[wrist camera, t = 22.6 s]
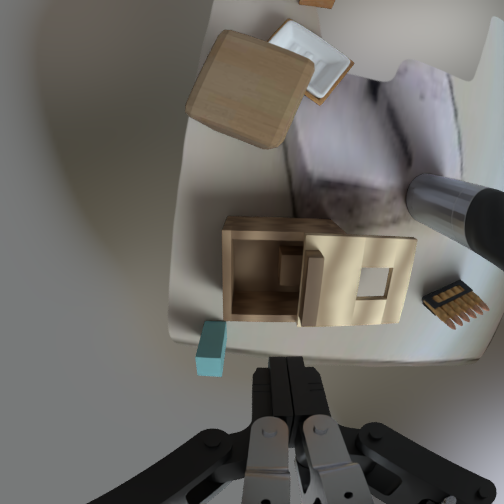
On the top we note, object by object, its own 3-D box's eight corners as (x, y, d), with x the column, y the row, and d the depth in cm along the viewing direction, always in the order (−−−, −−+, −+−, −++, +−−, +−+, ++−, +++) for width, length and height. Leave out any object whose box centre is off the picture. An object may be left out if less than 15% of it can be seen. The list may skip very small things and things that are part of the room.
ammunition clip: (422, 304, 54) (451, 335, 42) (422, 297, 53) (451, 327, 42) (460, 286, 53) (492, 312, 41) (460, 279, 52) (492, 304, 41)
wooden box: (330, 219, 48) (346, 233, 40) (322, 295, 53) (333, 321, 44) (227, 216, 48) (221, 230, 40) (227, 293, 53) (223, 320, 44)
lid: (413, 237, 39) (427, 246, 36) (395, 319, 44) (406, 332, 40) (304, 232, 39) (310, 242, 35) (296, 322, 44) (300, 338, 40)
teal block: (226, 321, 55) (220, 358, 44) (226, 338, 56) (221, 376, 45) (204, 320, 55) (195, 357, 44) (206, 337, 56) (197, 375, 45)
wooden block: (268, 151, 45) (280, 150, 26) (209, 128, 44) (178, 113, 25) (293, 96, 42) (320, 60, 23) (234, 73, 40) (221, 23, 22)
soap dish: (348, 68, 40) (357, 60, 35) (315, 109, 43) (322, 105, 38) (286, 26, 38) (289, 13, 33) (251, 66, 40) (251, 56, 35)
